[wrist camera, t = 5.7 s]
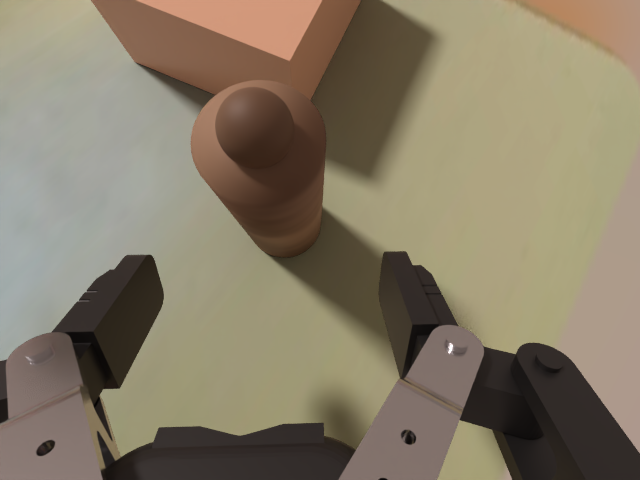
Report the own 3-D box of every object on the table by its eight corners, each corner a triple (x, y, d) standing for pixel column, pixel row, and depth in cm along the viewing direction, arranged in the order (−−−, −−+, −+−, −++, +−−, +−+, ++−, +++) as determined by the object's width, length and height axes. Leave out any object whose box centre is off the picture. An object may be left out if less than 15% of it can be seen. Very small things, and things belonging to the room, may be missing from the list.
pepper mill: (236, 239, 21) (137, 142, 9) (268, 177, 22) (214, 17, 10) (303, 269, 20) (286, 206, 9) (332, 204, 21) (352, 71, 10)
